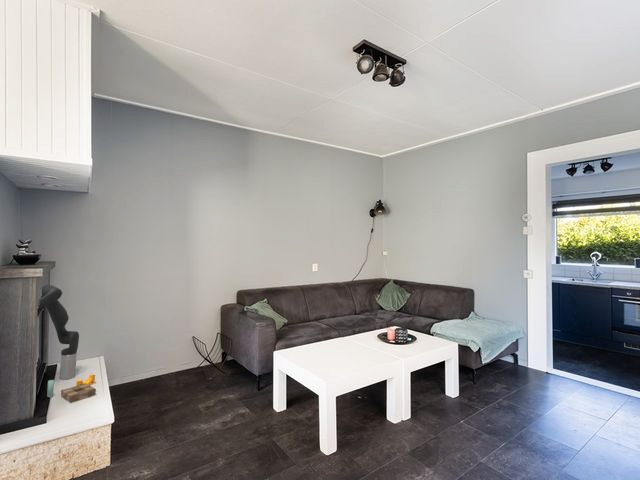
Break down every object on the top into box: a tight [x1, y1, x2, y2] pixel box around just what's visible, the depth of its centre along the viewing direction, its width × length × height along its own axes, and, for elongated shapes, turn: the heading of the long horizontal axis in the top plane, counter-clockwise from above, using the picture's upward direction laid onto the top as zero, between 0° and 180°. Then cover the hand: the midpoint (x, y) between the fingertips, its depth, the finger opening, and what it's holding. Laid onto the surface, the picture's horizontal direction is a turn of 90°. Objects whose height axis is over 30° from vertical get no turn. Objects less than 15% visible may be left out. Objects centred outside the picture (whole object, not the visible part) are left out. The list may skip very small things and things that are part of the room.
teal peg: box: [46, 379, 55, 398], centre depth 215 cm, size 3×3×10 cm
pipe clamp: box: [75, 373, 96, 386], centre depth 231 cm, size 12×4×6 cm, turn 169°
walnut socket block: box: [60, 383, 97, 404], centre depth 218 cm, size 14×14×4 cm
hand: (39, 362), depth 211 cm, fingers open, 8 cm apart
